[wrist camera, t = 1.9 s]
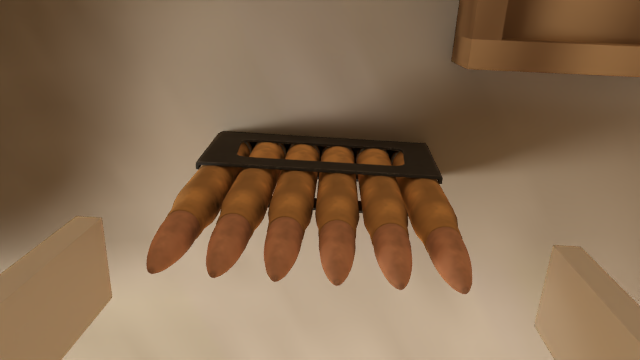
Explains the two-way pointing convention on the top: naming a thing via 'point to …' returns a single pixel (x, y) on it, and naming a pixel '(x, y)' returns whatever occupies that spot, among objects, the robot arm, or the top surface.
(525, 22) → the tray
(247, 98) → the top surface
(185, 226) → the ammunition clip
